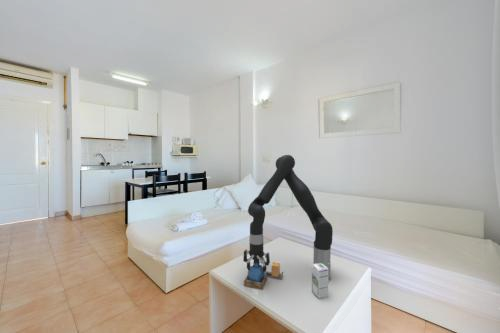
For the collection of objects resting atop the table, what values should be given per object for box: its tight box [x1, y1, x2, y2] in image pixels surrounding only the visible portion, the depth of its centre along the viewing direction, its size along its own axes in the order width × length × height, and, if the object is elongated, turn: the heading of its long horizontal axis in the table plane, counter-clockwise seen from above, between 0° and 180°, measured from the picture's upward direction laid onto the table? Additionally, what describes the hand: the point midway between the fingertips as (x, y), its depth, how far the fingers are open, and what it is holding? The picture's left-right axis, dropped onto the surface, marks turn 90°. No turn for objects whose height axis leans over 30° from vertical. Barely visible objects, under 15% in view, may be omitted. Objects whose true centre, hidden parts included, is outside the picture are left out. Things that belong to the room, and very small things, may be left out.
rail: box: [247, 265, 284, 281], centre depth 121 cm, size 20×4×2 cm, turn 72°
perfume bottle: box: [249, 260, 264, 283], centre depth 113 cm, size 6×6×12 cm
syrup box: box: [311, 263, 329, 299], centre depth 104 cm, size 6×6×14 cm
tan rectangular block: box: [266, 261, 281, 277], centre depth 120 cm, size 8×4×6 cm, turn 72°
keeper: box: [243, 273, 268, 291], centre depth 113 cm, size 10×10×3 cm
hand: (256, 270), depth 113 cm, fingers open, 8 cm apart
